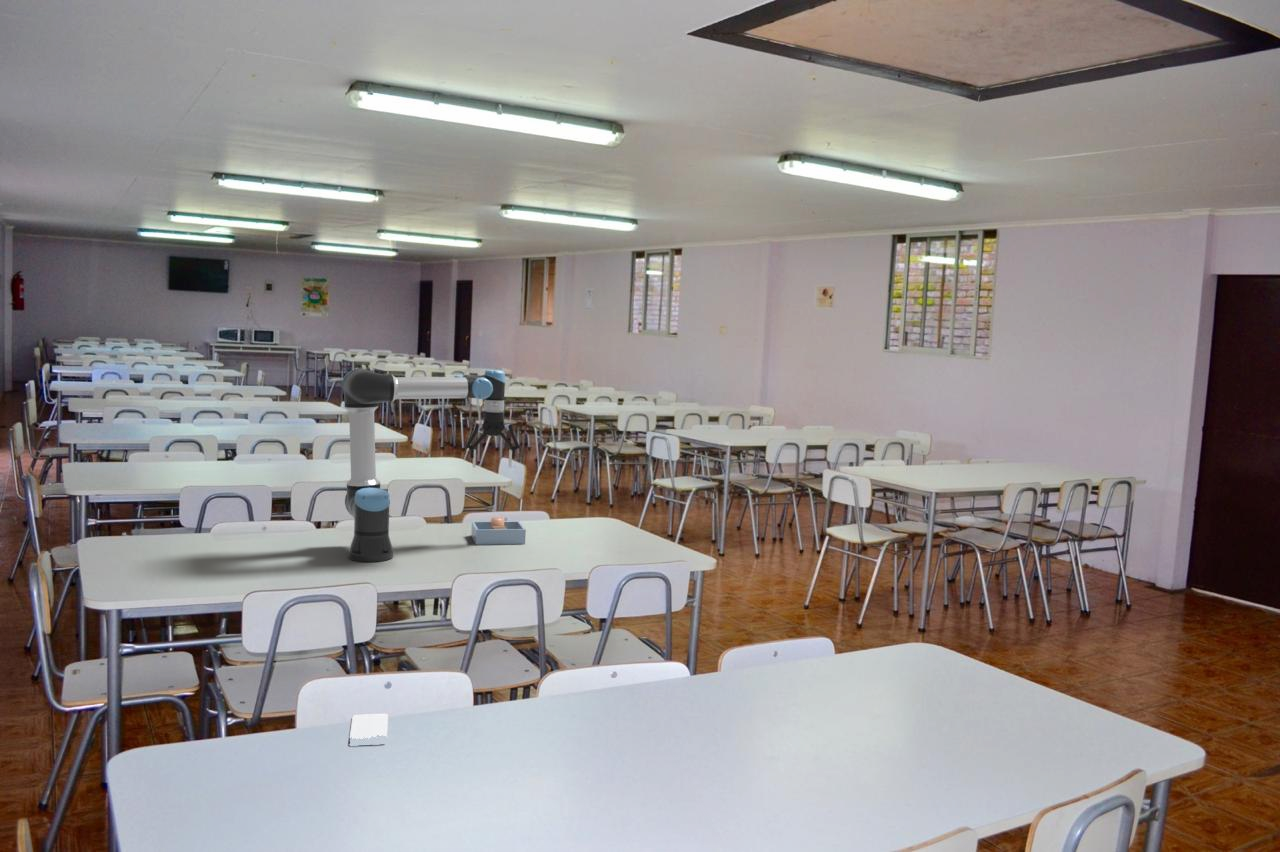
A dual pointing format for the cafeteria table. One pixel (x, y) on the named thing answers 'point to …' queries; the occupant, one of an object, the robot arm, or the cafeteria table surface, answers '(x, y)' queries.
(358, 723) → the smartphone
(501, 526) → the cube
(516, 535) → the tote
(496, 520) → the cylinder
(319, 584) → the cafeteria table surface
